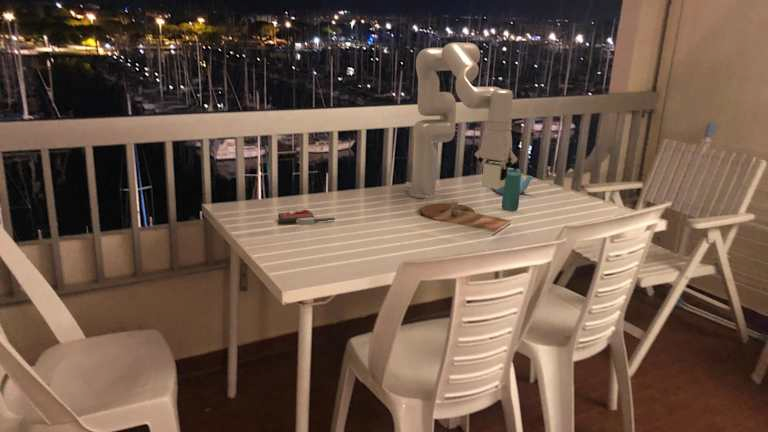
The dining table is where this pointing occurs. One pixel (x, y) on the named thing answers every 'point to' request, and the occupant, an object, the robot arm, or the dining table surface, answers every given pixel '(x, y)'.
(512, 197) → the beverage bottle
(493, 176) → the beige upright block
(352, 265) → the dining table surface
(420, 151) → the robot arm
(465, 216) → the board
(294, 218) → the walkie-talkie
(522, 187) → the teapot
